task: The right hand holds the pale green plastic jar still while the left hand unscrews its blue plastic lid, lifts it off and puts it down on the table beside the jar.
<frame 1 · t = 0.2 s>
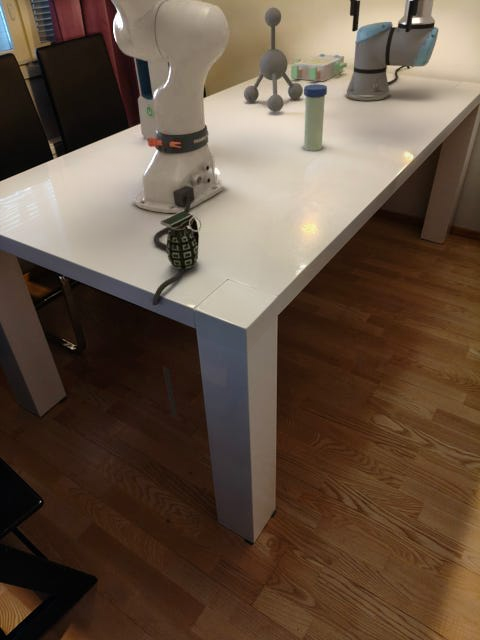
right hand: (380, 31, 125), 28 cm above the table, tool pointing down, fingers open, 13 cm apart
lid: (315, 88, 130), point 16 cm above the table, screwed on, not yet turned
molecular model: (278, 104, 178), on the table
decorative block: (317, 76, 211), on the table
electronic device: (163, 138, 153), on the table
jar: (312, 147, 140), on the table
grenade: (185, 266, 91), on the table
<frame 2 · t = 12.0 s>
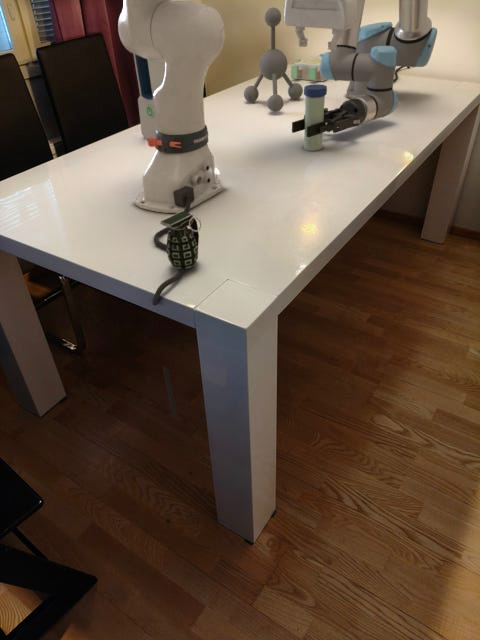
left hand: (317, 48, 124), 25 cm above the table, tool pointing down, fingers open, 8 cm apart
right hand: (300, 129, 133), 6 cm above the table, tool horizontal, fingers closed on jar, 5 cm apart
jar: (312, 147, 140), on the table, touching right hand
everything else where it was.
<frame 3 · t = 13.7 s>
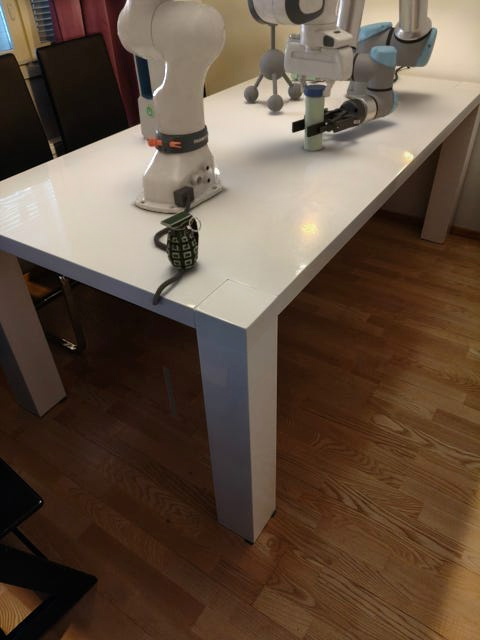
left hand: (315, 94, 131), 14 cm above the table, tool pointing down, fingers closed on lid, 6 cm apart
right hand: (300, 129, 133), 6 cm above the table, tool horizontal, fingers closed on jar, 5 cm apart
lid: (315, 88, 130), point 16 cm above the table, screwed on, not yet turned, touching left hand
jar: (312, 147, 140), on the table, touching right hand
everything else where it was.
when the left hand's fingers open (14 cm above the table, at t = 15.1 s): lid stays where it is, point 16 cm above the table.
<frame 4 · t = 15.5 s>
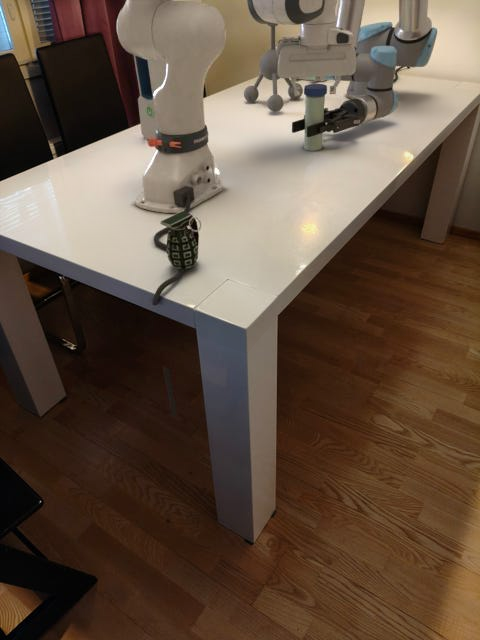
left hand: (315, 94, 131), 14 cm above the table, tool pointing down, fingers open, 8 cm apart
right hand: (300, 129, 133), 6 cm above the table, tool horizontal, fingers closed on jar, 5 cm apart
lid: (315, 87, 130), point 16 cm above the table, turned 61° so far, risen 0.1 cm, still on its thread
jar: (313, 147, 140), on the table, touching right hand
everything else where it was.
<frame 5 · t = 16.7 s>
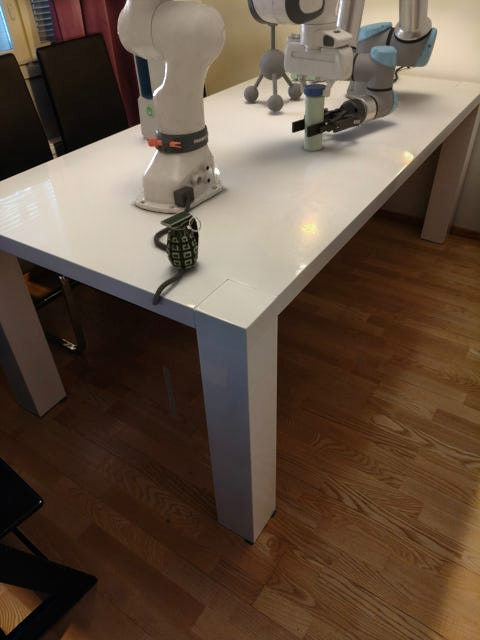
left hand: (315, 94, 131), 14 cm above the table, tool pointing down, fingers closed on lid, 6 cm apart
right hand: (300, 129, 133), 6 cm above the table, tool horizontal, fingers closed on jar, 5 cm apart
lid: (315, 87, 130), point 16 cm above the table, turned 61° so far, risen 0.1 cm, still on its thread, touching left hand
jar: (312, 147, 140), on the table, touching right hand
everything else where it was.
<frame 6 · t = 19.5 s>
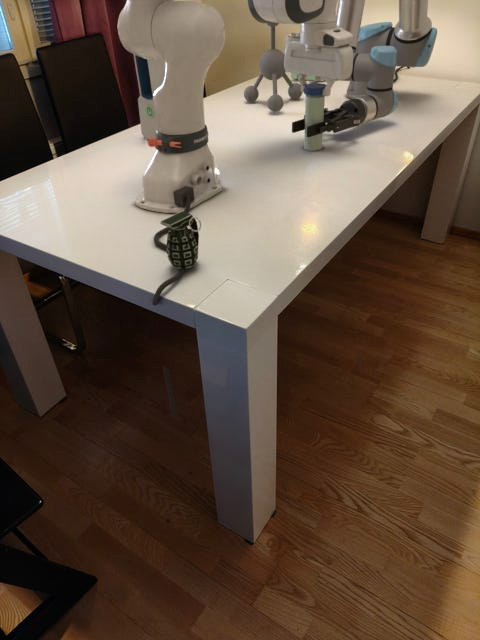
left hand: (315, 93, 131), 14 cm above the table, tool pointing down, fingers closed on lid, 6 cm apart
right hand: (300, 129, 133), 6 cm above the table, tool horizontal, fingers closed on jar, 5 cm apart
lid: (315, 87, 130), point 16 cm above the table, turned 122° so far, risen 0.3 cm, still on its thread, touching left hand
jar: (313, 147, 140), on the table, touching right hand
everything else where it was.
when the left hand's fingers open (2 cm above the table, at t = 25.7 s): lid drops 2 cm, point 1 cm above the table.
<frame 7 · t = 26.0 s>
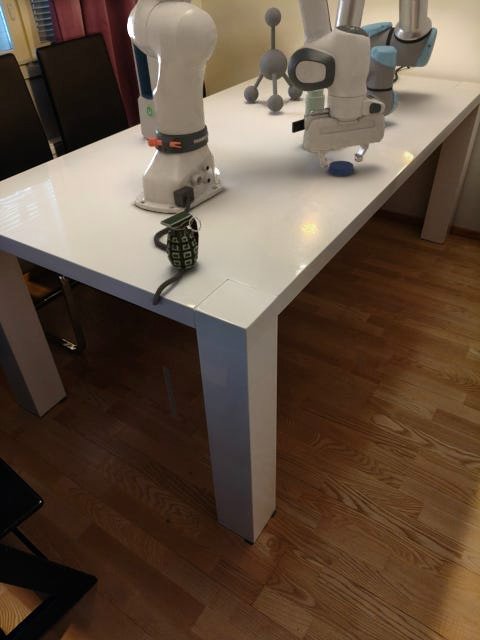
left hand: (341, 163, 123), 2 cm above the table, tool pointing down, fingers open, 8 cm apart
right hand: (300, 129, 133), 6 cm above the table, tool horizontal, fingers closed on jar, 5 cm apart
lid: (341, 166, 123), point 1 cm above the table, off its thread
jar: (313, 147, 140), on the table, touching right hand
everything else where it was.
when the right hand's fingers open (6 cm above the table, at t = 26.6 s): jar stays where it is, on the table.
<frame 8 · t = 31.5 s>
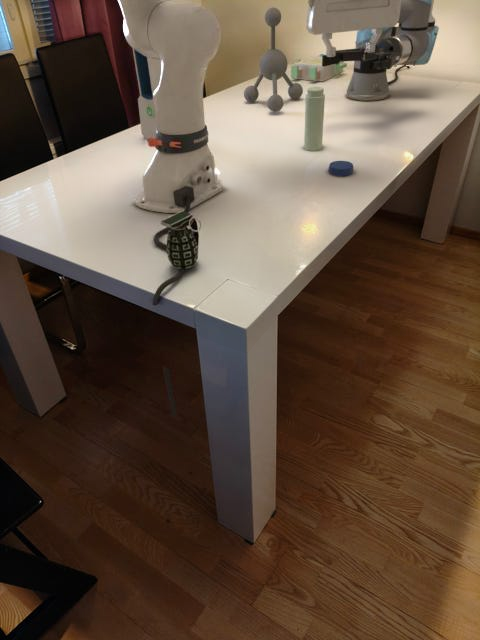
left hand: (350, 54, 108), 27 cm above the table, tool pointing down, fingers open, 8 cm apart
right hand: (341, 64, 132), 20 cm above the table, tool horizontal, fingers open, 13 cm apart
jar: (313, 147, 140), on the table
everything else where it was.
at the end: lid came off its thread; lid point 1.5 cm above the table; the left hand is holding nothing; the right hand is holding nothing; jar tilted 0°; jar moved 0.0 cm from its start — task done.
